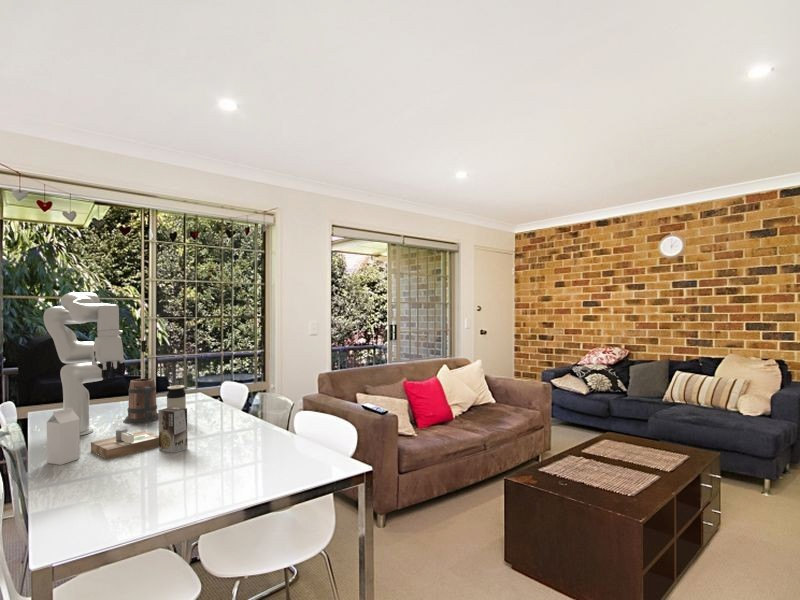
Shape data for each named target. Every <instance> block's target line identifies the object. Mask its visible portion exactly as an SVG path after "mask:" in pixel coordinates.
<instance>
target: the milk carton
mask: <svg viewBox="0 0 800 600" xmlns="http://www.w3.org/2000/svg"><path fill="white" fill-rule="evenodd" d="M80 440H81V438H80V422H79V418H78V416H77V415H76V414H75V412H74V411H73V408H68V409H64V410H63V409H61V410H60V409H59V410H55V411H53V412H52V416H51V417H50V418H49V419H48V420H47V421H46V463H47V464H52V465H58V466H59V465H60V466H61V465H62V466H63V465H65V464H68V463H70V462H74V461H76V460H80V458H81V456H80V455H81V454H80V453H81V450H80V449H81V448H80V447H81V446H80V445H81V444H80V442H81V441H80Z"/></svg>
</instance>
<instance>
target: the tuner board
mask: <svg viewBox="0 0 800 600" xmlns="http://www.w3.org/2000/svg"><path fill="white" fill-rule="evenodd" d="M130 433H131V434H134V442H133V443H127V442H124V441H120V442H117V441H116V436H115V437H109V438H103V439H100V440H99V439H98V440H95V441H92V442H90V452H92V453H94V454H96V453H97V454H96V455H98V454H99V455H98V456H100V455H101V456H100V457H102V456H103V457H102V458H104V457H105V458H104V459H106V458H107V459H106V460H110V459H115V458H118V457H121V456H122V457H123V456H127V455H130V454H134V453H138V452H143V451H146V450H151V449H154V448H159V434H155V433H152V432H149V431H146V430H140V431H136V432H130Z"/></svg>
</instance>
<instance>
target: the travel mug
mask: <svg viewBox="0 0 800 600" xmlns="http://www.w3.org/2000/svg"><path fill="white" fill-rule="evenodd" d="M167 391H168V392H167V394H166V408H168V407H179V408H186V406H187V405H186V391H185V385H183V384H181V385H179V384H177V385H176V384H175V385H171V386H170V385H169V386H167Z"/></svg>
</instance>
